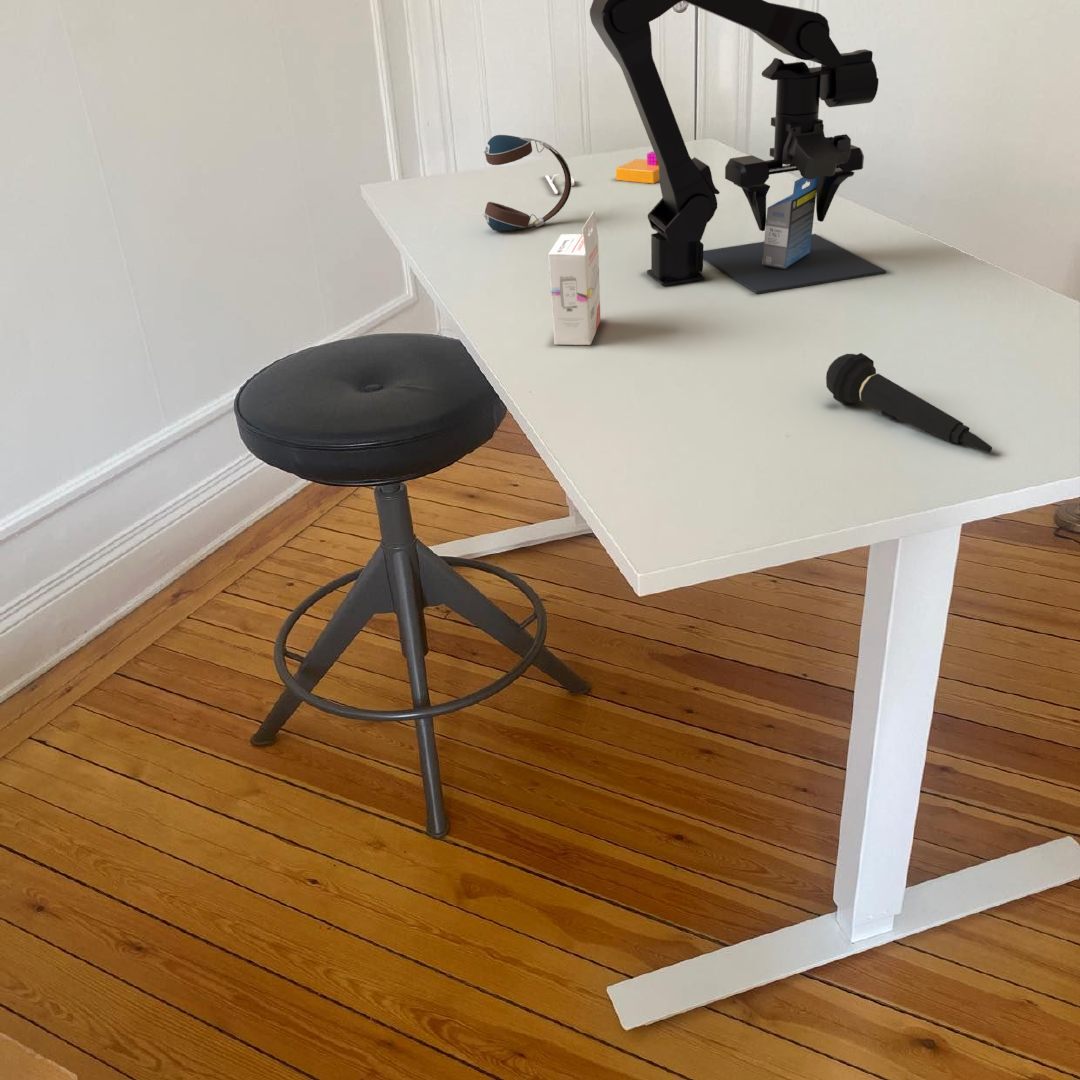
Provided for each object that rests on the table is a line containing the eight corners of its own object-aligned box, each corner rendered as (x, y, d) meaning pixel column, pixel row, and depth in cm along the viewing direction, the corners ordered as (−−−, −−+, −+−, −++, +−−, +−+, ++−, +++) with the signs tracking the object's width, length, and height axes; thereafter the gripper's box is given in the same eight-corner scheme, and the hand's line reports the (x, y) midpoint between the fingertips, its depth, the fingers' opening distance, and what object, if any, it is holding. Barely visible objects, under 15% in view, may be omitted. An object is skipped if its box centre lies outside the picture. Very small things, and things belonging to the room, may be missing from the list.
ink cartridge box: (564, 321, 147) (559, 209, 139) (601, 322, 146) (598, 209, 138) (551, 345, 140) (545, 228, 132) (590, 346, 139) (586, 228, 131)
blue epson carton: (786, 249, 166) (795, 164, 159) (810, 253, 164) (821, 168, 158) (760, 265, 160) (769, 177, 153) (785, 269, 158) (795, 181, 151)
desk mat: (756, 294, 152) (756, 291, 151) (696, 254, 168) (696, 251, 168) (885, 273, 156) (886, 270, 156) (814, 236, 173) (815, 233, 172)
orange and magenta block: (653, 183, 206) (653, 160, 204) (615, 180, 210) (615, 156, 208) (673, 173, 211) (673, 150, 209) (636, 170, 215) (636, 147, 213)
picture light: (544, 177, 214) (544, 166, 213) (567, 175, 215) (566, 164, 214) (555, 195, 203) (554, 183, 201) (578, 193, 203) (578, 181, 202)
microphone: (991, 474, 111) (837, 393, 124) (1016, 422, 109) (857, 344, 121) (963, 477, 108) (807, 393, 120) (989, 423, 105) (827, 343, 118)
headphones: (446, 237, 179) (574, 232, 185) (445, 139, 172) (579, 137, 178) (437, 228, 184) (562, 223, 191) (436, 132, 177) (566, 130, 183)
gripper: (761, 130, 142) (757, 250, 151) (890, 112, 147) (879, 230, 155) (724, 116, 152) (722, 229, 160) (846, 99, 156) (838, 211, 164)
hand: (791, 225), depth 159 cm, fingers closed on blue epson carton, 9 cm apart
